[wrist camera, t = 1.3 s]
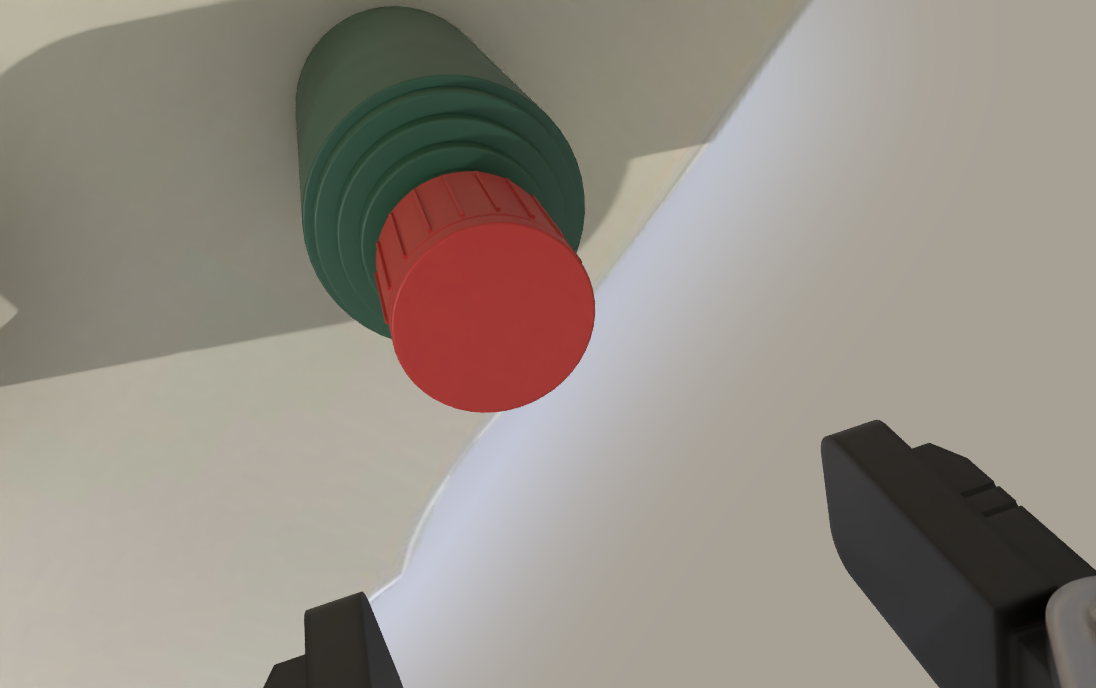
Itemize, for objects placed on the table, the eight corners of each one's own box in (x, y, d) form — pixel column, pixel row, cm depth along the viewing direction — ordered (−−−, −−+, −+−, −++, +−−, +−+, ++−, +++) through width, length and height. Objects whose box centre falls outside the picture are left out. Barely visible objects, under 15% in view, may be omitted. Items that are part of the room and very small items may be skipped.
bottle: (318, -19, 35) (351, 91, 18) (517, 37, 38) (707, 180, 21) (278, 181, 38) (275, 439, 21) (466, 222, 40) (599, 483, 23)
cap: (396, 149, 22) (416, 199, 19) (577, 191, 24) (625, 245, 20) (355, 324, 24) (366, 398, 20) (527, 354, 25) (564, 429, 22)
